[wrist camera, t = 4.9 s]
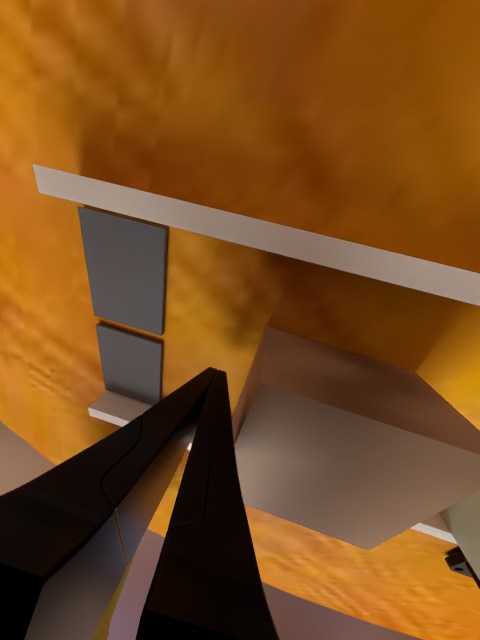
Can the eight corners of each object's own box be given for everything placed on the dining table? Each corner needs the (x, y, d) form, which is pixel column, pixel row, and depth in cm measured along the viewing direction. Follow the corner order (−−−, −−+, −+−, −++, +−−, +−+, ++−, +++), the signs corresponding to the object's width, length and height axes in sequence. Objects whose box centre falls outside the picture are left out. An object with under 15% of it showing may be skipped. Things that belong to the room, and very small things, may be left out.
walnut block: (410, 368, 8) (520, 468, 4) (337, 450, 11) (368, 550, 7) (266, 323, 8) (260, 382, 5) (233, 414, 11) (214, 493, 8)
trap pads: (168, 229, 7) (165, 228, 7) (160, 405, 12) (158, 407, 12) (82, 207, 8) (77, 206, 7) (107, 387, 12) (105, 389, 12)
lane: (724, 338, 6) (1159, 430, 3) (436, 508, 11) (489, 594, 8) (78, 178, 7) (-43, 139, 4) (109, 397, 13) (64, 438, 10)
